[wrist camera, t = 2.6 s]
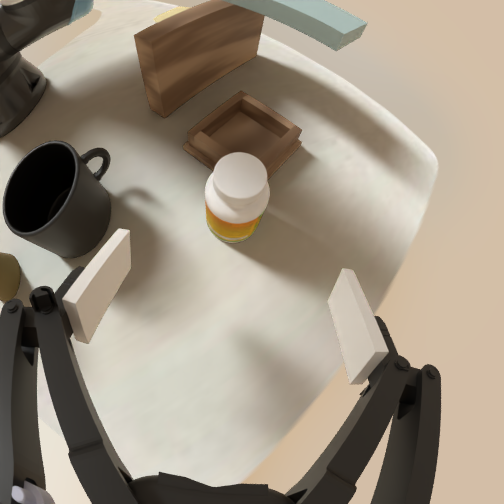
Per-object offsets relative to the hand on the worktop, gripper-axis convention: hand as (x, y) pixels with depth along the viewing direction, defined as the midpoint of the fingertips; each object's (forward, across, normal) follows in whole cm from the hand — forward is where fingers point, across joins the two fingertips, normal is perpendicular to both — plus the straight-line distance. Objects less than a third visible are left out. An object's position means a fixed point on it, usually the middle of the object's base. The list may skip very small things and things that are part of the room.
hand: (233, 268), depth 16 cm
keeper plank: (+20, +1, +22) cm, 30 cm away
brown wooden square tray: (+20, -1, +4) cm, 20 cm away
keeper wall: (+28, -8, +12) cm, 31 cm away
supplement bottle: (+13, -1, -3) cm, 13 cm away
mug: (+12, -18, -4) cm, 22 cm away
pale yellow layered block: (+36, -17, +20) cm, 44 cm away
